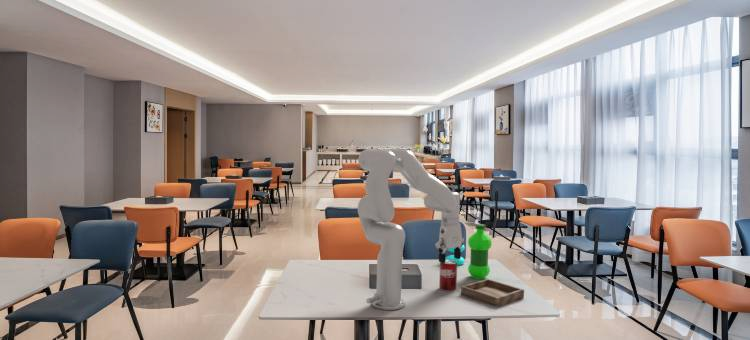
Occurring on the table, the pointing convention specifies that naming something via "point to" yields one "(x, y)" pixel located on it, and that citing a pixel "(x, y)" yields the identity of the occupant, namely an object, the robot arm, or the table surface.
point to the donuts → (451, 257)
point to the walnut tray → (492, 292)
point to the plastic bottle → (479, 253)
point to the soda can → (448, 276)
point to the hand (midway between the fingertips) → (449, 260)
